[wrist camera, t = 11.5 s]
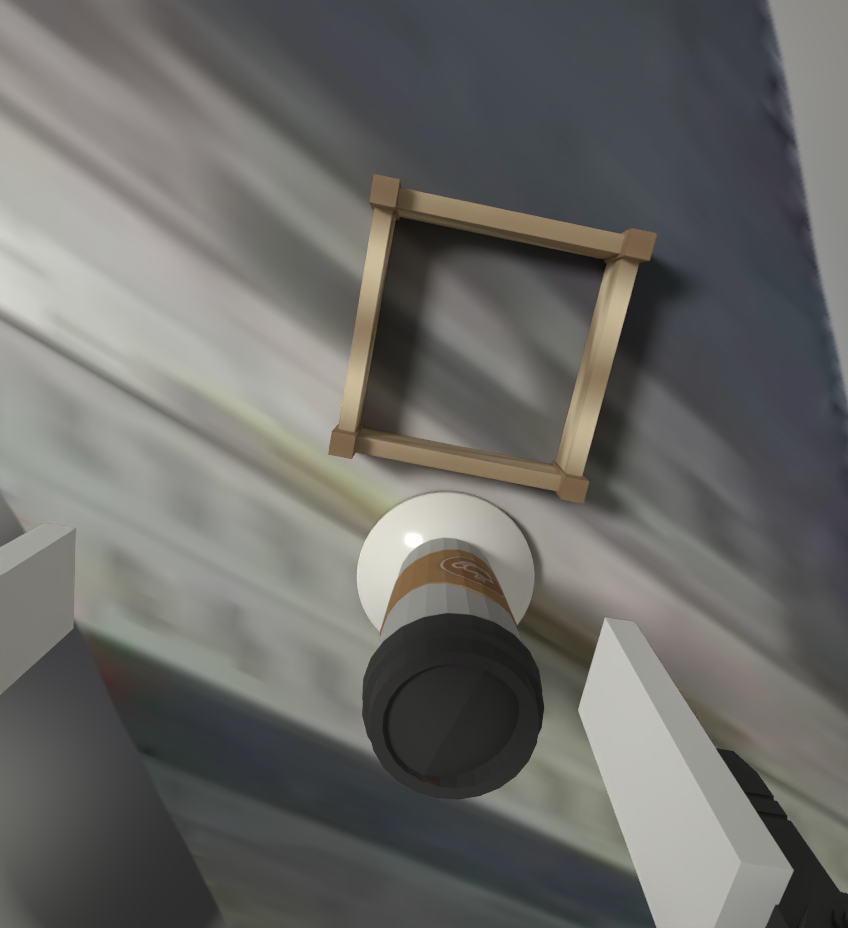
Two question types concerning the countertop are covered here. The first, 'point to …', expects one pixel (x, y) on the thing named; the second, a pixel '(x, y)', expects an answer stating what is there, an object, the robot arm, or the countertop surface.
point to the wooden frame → (596, 361)
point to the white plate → (444, 520)
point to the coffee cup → (451, 678)
